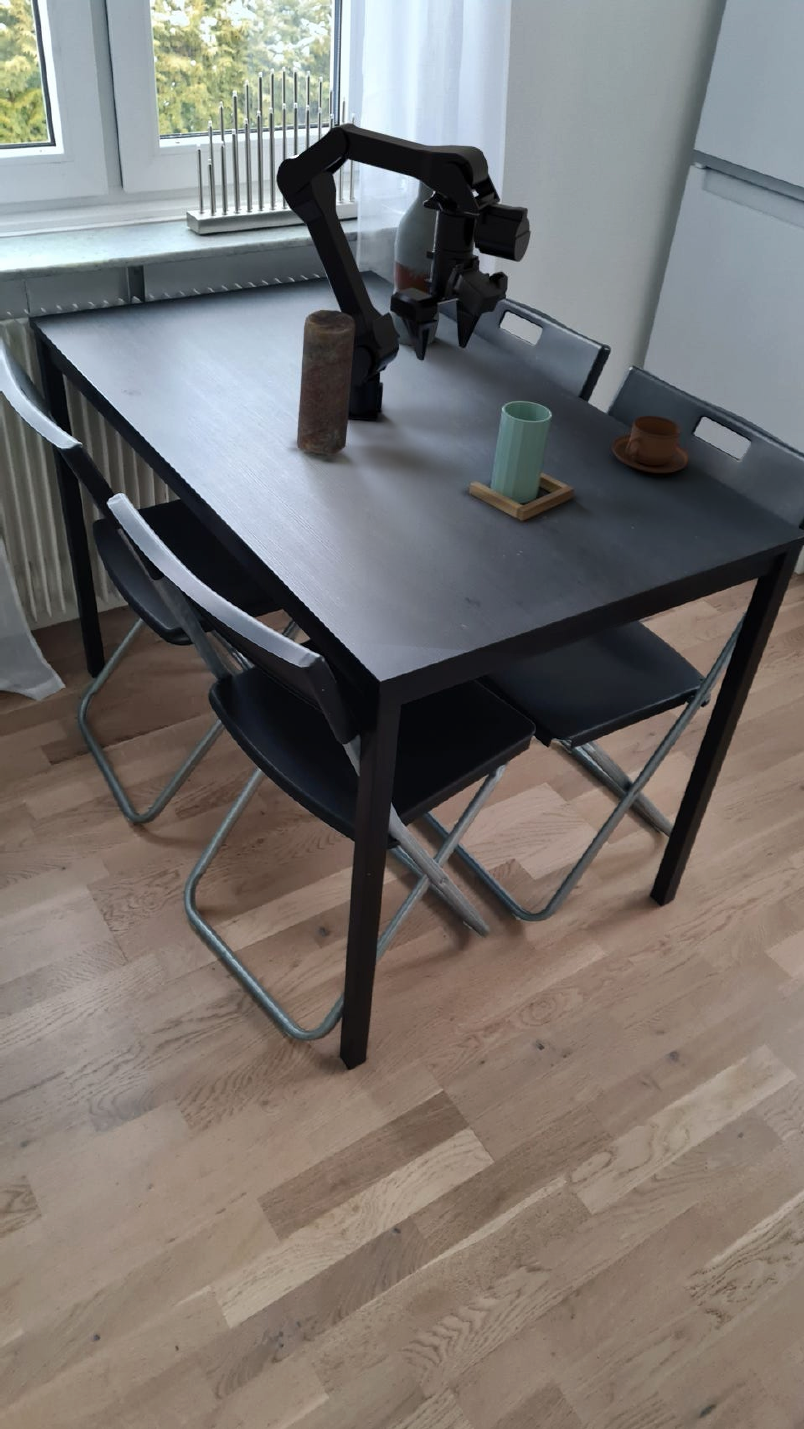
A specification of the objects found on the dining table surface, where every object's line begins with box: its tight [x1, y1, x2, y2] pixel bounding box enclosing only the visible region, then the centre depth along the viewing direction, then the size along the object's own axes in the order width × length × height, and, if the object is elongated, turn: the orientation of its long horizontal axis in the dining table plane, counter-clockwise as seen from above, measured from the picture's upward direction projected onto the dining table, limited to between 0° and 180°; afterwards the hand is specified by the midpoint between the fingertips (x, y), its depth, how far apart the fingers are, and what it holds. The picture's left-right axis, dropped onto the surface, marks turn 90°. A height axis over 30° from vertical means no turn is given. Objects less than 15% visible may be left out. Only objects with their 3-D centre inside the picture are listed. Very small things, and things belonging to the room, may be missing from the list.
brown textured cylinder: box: [296, 309, 355, 457], centre depth 162 cm, size 8×7×20 cm
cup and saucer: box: [612, 415, 690, 474], centre depth 173 cm, size 12×12×6 cm
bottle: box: [388, 180, 440, 347], centre depth 198 cm, size 9×9×30 cm
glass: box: [489, 400, 553, 504], centre depth 159 cm, size 7×7×12 cm
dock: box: [468, 472, 575, 522], centre depth 162 cm, size 10×12×2 cm
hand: (441, 353), depth 168 cm, fingers open, 9 cm apart
